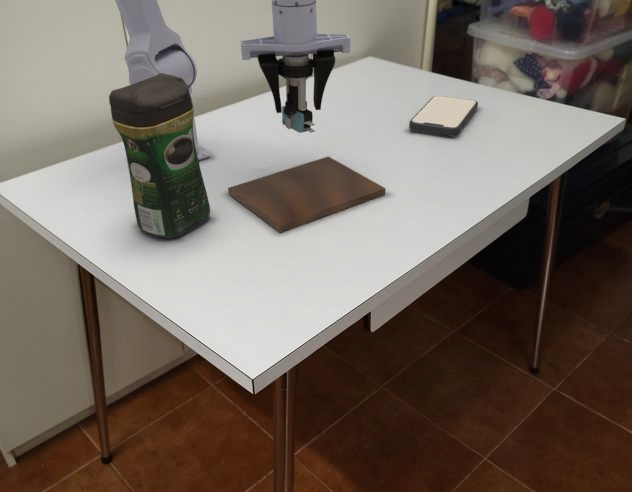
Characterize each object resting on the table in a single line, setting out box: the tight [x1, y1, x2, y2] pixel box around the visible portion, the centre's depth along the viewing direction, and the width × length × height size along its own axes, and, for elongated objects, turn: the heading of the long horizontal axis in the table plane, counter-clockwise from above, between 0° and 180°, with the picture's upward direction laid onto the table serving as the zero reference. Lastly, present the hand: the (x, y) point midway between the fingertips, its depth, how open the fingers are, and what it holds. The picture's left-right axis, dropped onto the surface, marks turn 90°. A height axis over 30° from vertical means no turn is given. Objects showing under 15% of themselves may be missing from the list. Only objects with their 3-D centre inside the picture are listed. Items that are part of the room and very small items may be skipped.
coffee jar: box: [108, 73, 211, 239], centre depth 79 cm, size 10×8×19 cm
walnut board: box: [227, 156, 386, 233], centre depth 90 cm, size 18×14×1 cm
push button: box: [277, 54, 316, 134], centre depth 87 cm, size 7×5×10 cm
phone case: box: [408, 95, 479, 137], centre depth 111 cm, size 9×2×16 cm
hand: (298, 109), depth 89 cm, fingers closed on push button, 5 cm apart
